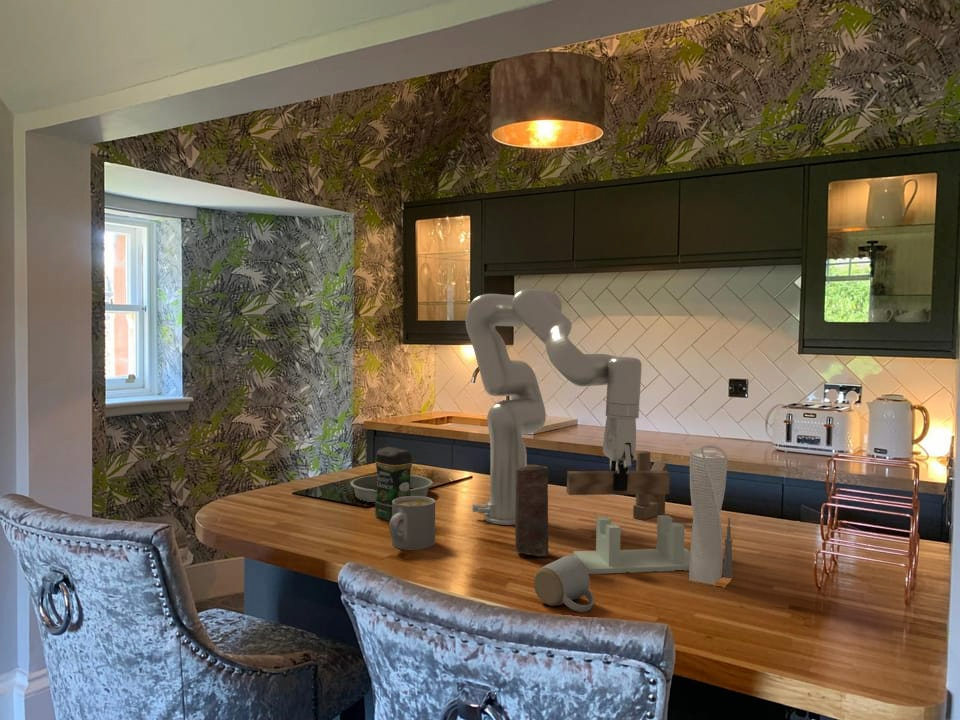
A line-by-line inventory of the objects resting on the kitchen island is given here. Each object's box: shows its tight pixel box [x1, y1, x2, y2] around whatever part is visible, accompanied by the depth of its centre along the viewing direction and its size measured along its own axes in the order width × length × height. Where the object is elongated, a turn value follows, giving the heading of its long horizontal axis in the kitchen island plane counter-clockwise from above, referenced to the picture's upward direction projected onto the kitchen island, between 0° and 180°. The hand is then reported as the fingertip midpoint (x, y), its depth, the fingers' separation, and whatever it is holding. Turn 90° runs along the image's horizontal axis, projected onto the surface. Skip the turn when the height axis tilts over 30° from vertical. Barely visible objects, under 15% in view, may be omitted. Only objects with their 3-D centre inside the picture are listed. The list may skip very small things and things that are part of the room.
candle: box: [514, 463, 549, 558], centre depth 160 cm, size 8×7×20 cm
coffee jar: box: [374, 446, 413, 521], centre depth 190 cm, size 10×8×19 cm
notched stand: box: [572, 514, 690, 575], centre depth 155 cm, size 26×12×9 cm, turn 98°
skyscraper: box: [688, 444, 733, 585], centre depth 144 cm, size 8×8×28 cm
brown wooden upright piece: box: [632, 450, 667, 521], centre depth 195 cm, size 4×11×18 cm, turn 135°
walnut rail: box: [566, 470, 671, 496], centre depth 167 cm, size 24×2×5 cm, turn 98°
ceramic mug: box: [533, 555, 595, 613], centre depth 131 cm, size 11×8×8 cm
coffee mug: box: [388, 496, 436, 551], centre depth 166 cm, size 13×10×10 cm
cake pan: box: [349, 474, 434, 504], centre depth 216 cm, size 25×25×4 cm
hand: (617, 488), depth 167 cm, fingers closed on walnut rail, 2 cm apart
